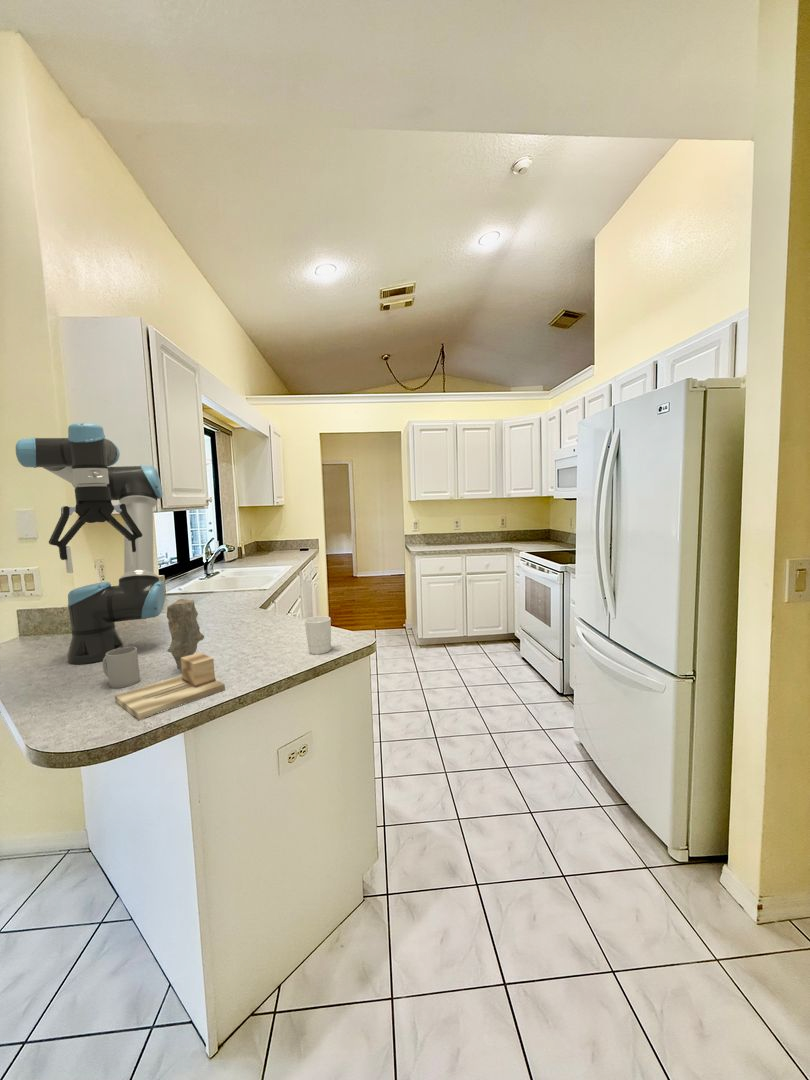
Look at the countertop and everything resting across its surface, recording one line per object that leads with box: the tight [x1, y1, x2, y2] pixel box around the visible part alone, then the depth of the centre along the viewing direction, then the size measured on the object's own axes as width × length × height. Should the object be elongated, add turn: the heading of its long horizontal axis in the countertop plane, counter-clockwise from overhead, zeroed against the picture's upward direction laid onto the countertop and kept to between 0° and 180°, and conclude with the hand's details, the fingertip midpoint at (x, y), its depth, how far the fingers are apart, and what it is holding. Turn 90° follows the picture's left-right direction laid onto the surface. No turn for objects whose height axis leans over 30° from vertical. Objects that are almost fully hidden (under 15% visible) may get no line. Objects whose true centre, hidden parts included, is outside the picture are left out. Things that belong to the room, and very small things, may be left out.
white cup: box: [304, 615, 332, 655], centre depth 145 cm, size 8×8×10 cm
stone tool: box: [166, 598, 205, 671], centre depth 134 cm, size 12×6×20 cm, turn 150°
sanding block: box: [181, 652, 217, 688], centre depth 121 cm, size 8×5×6 cm, turn 47°
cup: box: [101, 646, 141, 689], centre depth 126 cm, size 7×10×9 cm
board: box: [114, 674, 226, 721], centre depth 116 cm, size 16×20×2 cm
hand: (101, 568), depth 121 cm, fingers open, 13 cm apart
